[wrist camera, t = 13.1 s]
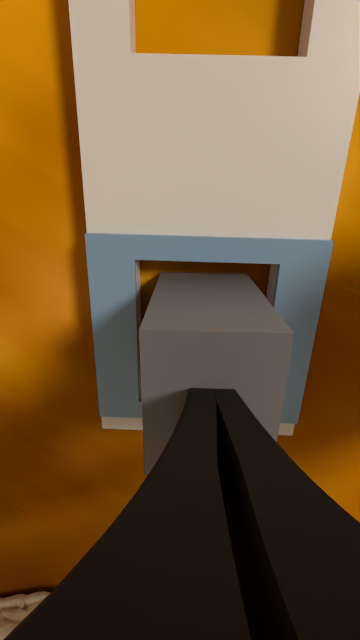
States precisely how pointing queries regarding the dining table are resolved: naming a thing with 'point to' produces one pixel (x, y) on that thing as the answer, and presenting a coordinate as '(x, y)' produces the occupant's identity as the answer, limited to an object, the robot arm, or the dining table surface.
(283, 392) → the plug
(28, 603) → the storage basket
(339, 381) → the dining table surface
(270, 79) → the two-tone slotted frame
